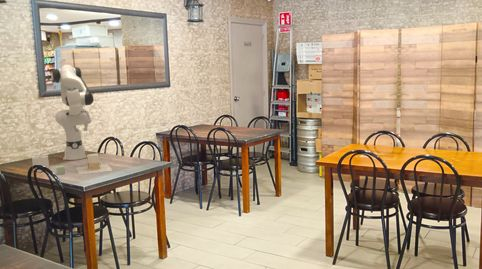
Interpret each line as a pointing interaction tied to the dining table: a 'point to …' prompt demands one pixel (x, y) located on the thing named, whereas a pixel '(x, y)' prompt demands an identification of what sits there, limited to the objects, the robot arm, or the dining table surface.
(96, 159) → the cream tower block
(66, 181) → the dining table surface
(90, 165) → the oak tower block
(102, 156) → the dining table surface
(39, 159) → the toilet tissue
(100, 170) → the cream square board
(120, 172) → the dining table surface
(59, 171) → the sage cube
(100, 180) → the dining table surface
